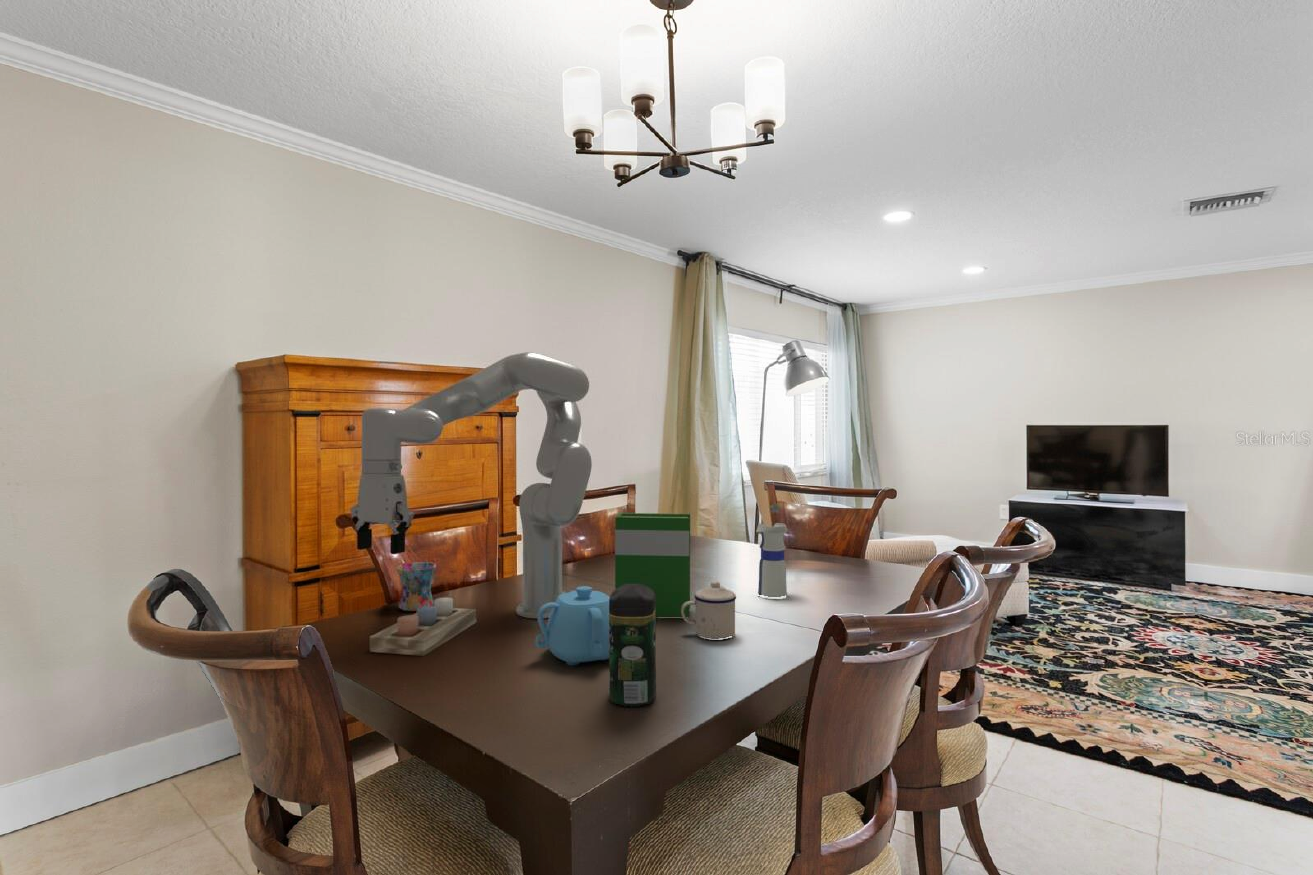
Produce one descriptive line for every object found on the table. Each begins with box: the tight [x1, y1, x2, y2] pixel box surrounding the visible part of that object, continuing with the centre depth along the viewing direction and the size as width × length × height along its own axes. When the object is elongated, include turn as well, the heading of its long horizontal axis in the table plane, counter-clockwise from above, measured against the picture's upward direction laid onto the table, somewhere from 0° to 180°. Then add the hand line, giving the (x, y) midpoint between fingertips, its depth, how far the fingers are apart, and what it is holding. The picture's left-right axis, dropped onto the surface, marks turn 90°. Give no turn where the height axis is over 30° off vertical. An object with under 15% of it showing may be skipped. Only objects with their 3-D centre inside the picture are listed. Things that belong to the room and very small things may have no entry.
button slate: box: [416, 605, 437, 626], centre depth 137 cm, size 4×4×4 cm
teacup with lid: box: [681, 580, 737, 639], centre depth 138 cm, size 12×9×12 cm
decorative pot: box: [534, 585, 610, 666], centre depth 126 cm, size 16×16×14 cm
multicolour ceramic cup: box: [396, 561, 437, 612], centre depth 160 cm, size 12×9×11 cm
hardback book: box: [614, 512, 691, 618], centre depth 154 cm, size 18×7×24 cm, turn 85°
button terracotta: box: [397, 614, 418, 637], centre depth 130 cm, size 4×4×4 cm
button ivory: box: [433, 596, 454, 617], centre depth 144 cm, size 4×4×4 cm
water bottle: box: [755, 501, 789, 597], centre depth 170 cm, size 8×9×25 cm
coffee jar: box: [608, 584, 657, 708], centre depth 107 cm, size 10×8×19 cm
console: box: [369, 607, 477, 657], centre depth 137 cm, size 12×22×3 cm, turn 169°
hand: (380, 550), depth 131 cm, fingers open, 9 cm apart
